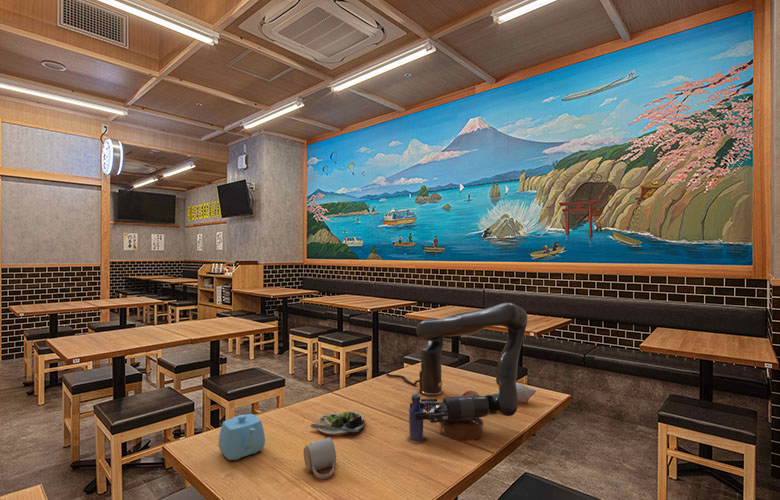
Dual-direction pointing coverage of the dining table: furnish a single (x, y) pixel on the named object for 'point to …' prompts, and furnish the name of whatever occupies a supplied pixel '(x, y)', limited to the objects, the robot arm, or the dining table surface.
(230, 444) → the teapot
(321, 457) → the ceramic mug
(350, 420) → the salad plate
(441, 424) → the bowl
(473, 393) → the fruit
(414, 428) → the soy bottle
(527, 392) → the seashell
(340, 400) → the dining table surface
